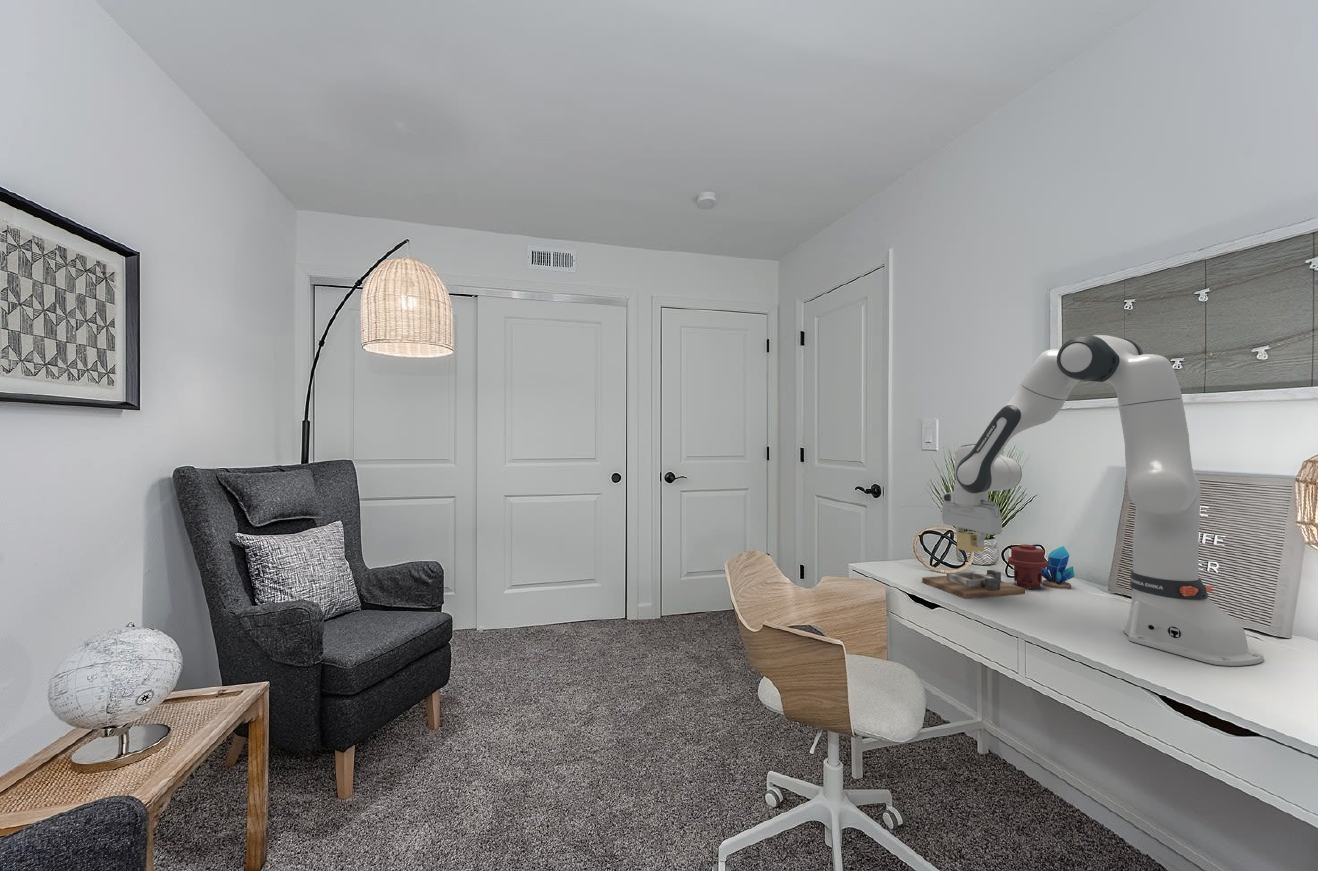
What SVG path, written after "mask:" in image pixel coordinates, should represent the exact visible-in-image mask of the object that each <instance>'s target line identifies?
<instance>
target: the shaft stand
mask: <svg viewBox="0 0 1318 871" xmlns="http://www.w3.org/2000/svg"><path fill="white" fill-rule="evenodd" d="M921 582H922V583H923V584H926V585H929V586H931V587H934V588H936V589H939V590H941V589H942V590H941V591H944V592H947V593H950V594H952V595H955V596H958V597H960V598H963V599H965V598H967V599H974V598H973V597H979V598H987V597H1000V596H1001V597H1002V596H1014V595H1015V596H1016V595H1025V594H1026V589H1025V588H1024V587H1023V586H1020V585H1017V584H1016V585H1015V584H1013V583H1009V582H1005V581H1002V572H1001V571H998V570H993V569H987V570H986V574H983V573H980V572H976V571H962V572H946V575H939V576H925V577H924V576H923V577H921Z"/></svg>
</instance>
